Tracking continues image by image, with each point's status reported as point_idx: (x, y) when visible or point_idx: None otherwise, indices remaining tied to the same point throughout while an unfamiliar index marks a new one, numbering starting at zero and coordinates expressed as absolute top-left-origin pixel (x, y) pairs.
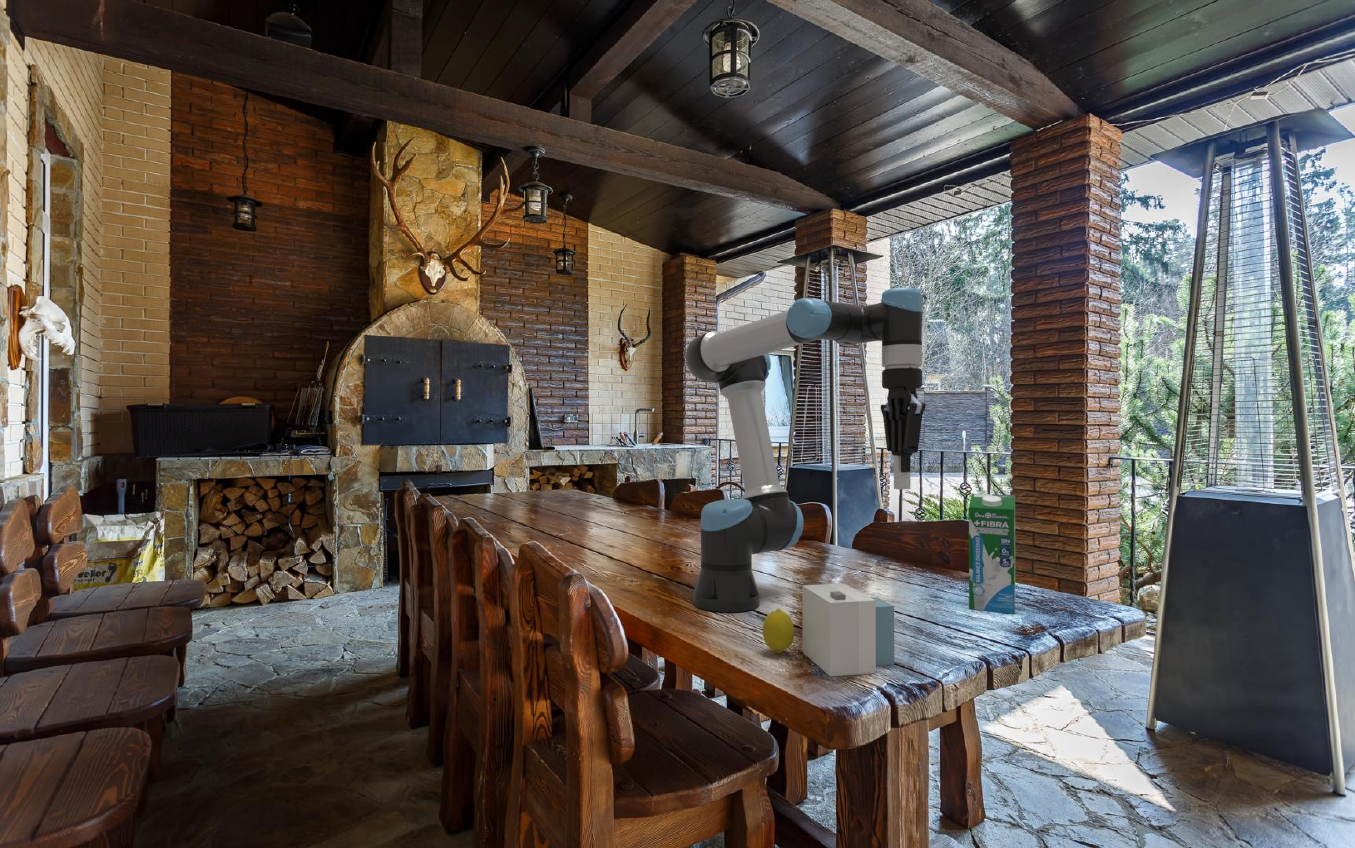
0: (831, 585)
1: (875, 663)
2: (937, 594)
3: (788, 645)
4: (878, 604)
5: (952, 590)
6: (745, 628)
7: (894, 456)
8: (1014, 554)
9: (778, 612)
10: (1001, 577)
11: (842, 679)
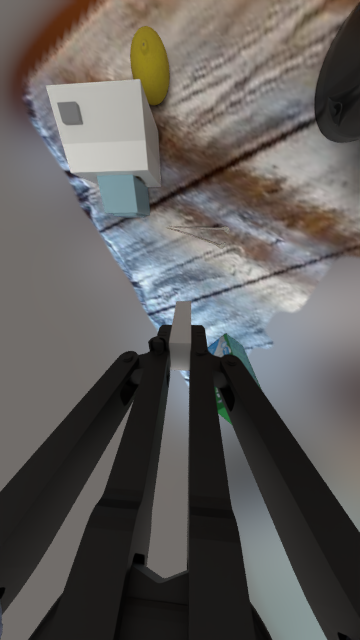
0: (138, 142)
1: None
2: (264, 335)
3: None
4: (109, 197)
5: (267, 348)
6: (250, 70)
7: (187, 341)
8: None
9: (139, 45)
10: None
11: None
